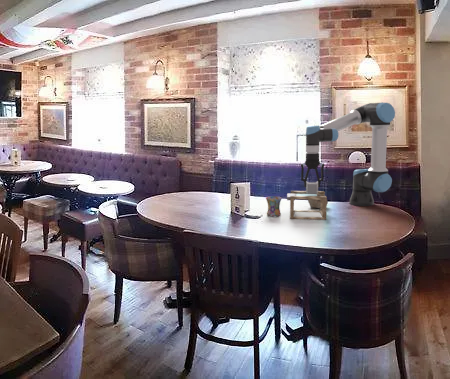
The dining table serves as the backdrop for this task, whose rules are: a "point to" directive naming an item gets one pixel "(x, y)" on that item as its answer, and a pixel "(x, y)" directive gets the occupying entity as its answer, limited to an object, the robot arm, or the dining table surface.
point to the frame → (323, 210)
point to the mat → (307, 214)
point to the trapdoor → (298, 195)
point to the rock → (315, 202)
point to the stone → (312, 188)
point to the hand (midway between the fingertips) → (311, 192)
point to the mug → (273, 206)
